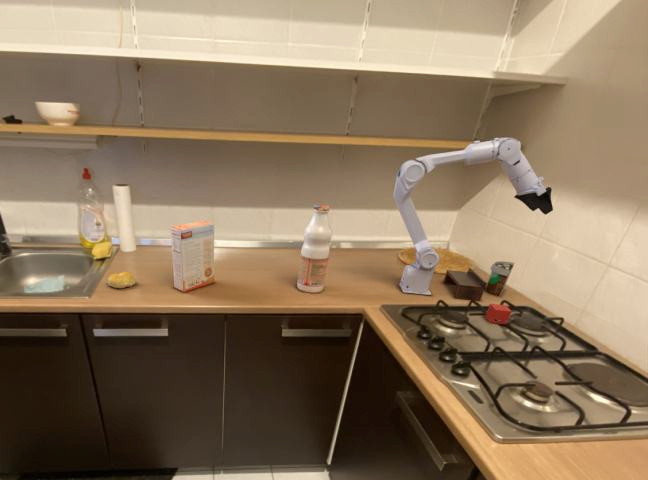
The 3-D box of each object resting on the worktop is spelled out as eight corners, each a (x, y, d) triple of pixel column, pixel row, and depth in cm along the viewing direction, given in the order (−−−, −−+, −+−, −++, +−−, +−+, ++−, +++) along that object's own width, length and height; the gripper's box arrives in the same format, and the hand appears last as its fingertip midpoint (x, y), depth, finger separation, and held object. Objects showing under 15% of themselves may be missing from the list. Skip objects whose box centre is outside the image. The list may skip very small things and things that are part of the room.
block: (490, 323, 117) (495, 309, 114) (484, 316, 120) (490, 303, 118) (506, 324, 116) (512, 311, 114) (500, 318, 120) (505, 305, 118)
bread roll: (105, 282, 133) (103, 271, 131) (130, 278, 137) (129, 268, 135) (112, 290, 127) (110, 279, 125) (138, 286, 131) (137, 275, 129)
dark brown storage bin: (455, 298, 133) (461, 280, 130) (442, 282, 146) (448, 266, 143) (480, 300, 132) (487, 283, 128) (465, 284, 145) (471, 268, 142)
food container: (485, 284, 147) (495, 258, 142) (504, 288, 143) (514, 262, 138) (479, 292, 138) (489, 266, 133) (498, 297, 135) (509, 270, 130)
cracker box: (203, 278, 140) (203, 219, 130) (214, 283, 136) (215, 223, 126) (172, 287, 131) (169, 225, 121) (183, 292, 128) (181, 229, 117)
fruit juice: (291, 288, 135) (301, 205, 121) (304, 281, 141) (314, 202, 127) (316, 295, 130) (329, 209, 116) (327, 287, 137) (341, 205, 123)
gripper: (547, 165, 106) (570, 204, 109) (523, 163, 119) (544, 198, 122) (520, 183, 109) (543, 220, 112) (500, 180, 122) (521, 214, 125)
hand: (542, 210), depth 117 cm, fingers open, 7 cm apart
